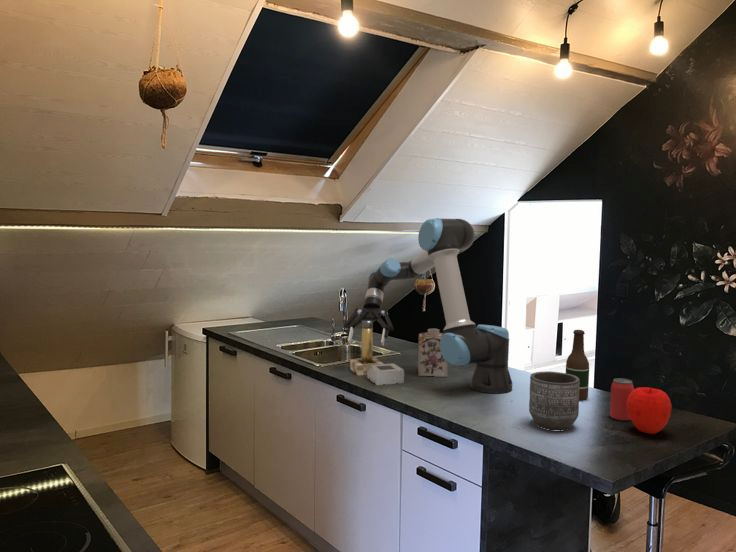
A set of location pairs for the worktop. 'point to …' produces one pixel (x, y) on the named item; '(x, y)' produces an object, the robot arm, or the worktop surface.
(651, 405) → the apple
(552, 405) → the planter
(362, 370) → the rack block
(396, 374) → the socket block
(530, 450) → the worktop surface
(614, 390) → the beer can
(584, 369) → the beer bottle
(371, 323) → the yellow glass cylinder
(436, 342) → the decorative jar
